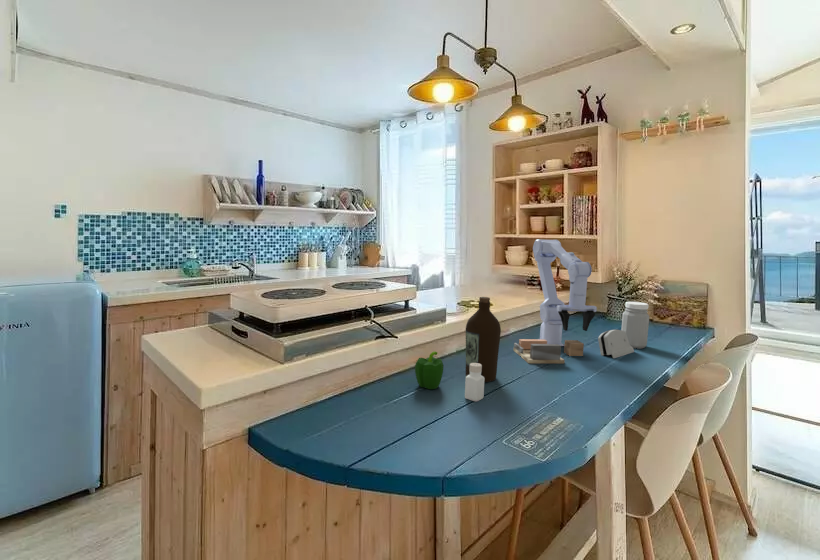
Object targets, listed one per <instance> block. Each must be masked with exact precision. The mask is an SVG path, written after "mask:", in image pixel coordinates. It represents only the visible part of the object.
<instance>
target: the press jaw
mask: <svg viewBox="0 0 820 560" xmlns="http://www.w3.org/2000/svg"><path fill="white" fill-rule="evenodd" d="M531 344H547V341H546V340H545V339H540V338H537V339H536V338H535V339H532V338H531V339H529V338H528V339H526V338H523V339H521V338H520V339H518V345H520V346H521V347H522V348H523V349H531Z"/></svg>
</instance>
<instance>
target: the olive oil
mask: <svg viewBox="0 0 820 560" xmlns="http://www.w3.org/2000/svg"><path fill="white" fill-rule="evenodd" d="M478 298H479V301H478V309H477V311H475V312H474V314H473V315H471V316H470V318H469V319H467V322H466V324H465V377H466V376H467V375H469V374H470V371H469V369H470V368H469V367H470V363H479V364H481V365H482V369H481V370H482V371H481V376H483V377H484V378H485V379H484V383H489V382H494V381H495V380H496V379H497V371H498V359H499V351H500V341H501V332H502V331H501V329H502V328H501V324H500V321H499V320H498V318H497V317H496V316H495V315H494V314H493V312H492V311H491V309H490V308H491V302H490V301H491V297H488V296H480V297H478Z"/></svg>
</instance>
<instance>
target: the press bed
mask: <svg viewBox="0 0 820 560" xmlns="http://www.w3.org/2000/svg"><path fill="white" fill-rule="evenodd" d="M512 351H513V352H514V353H516V354H517V355H518V356H519V357H520V356H521V357H520V358H522V359H523V360H524V361H525V362H526V363H527V364H565V362H566V361H565V359H564V358H562V357H561V355H562V353H561V352H562V346H560V345H559V344H531V349H523V348H522V347H521V346H520V345H519V343H517V342H514V343H513V350H512Z"/></svg>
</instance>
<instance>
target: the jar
mask: <svg viewBox="0 0 820 560" xmlns="http://www.w3.org/2000/svg"><path fill="white" fill-rule="evenodd" d="M649 307H650V305H649V303H646V302H640V301H626V302H625V308H624V311H623V312H622V316H621V317H622V320H621V329H620V330H622V331H624V332H625V333H626V336H627V339H628V342H629V345H630V346H632V347H633V349H636V348H637V349H638V350H639V349H641V350H642V349H644V348H646V347H647V345H648V336H649V335H648V333H649V326H650V324H649V323H650V315H649V314H648V313H649V311H648V309H649ZM637 349H636V350H637Z"/></svg>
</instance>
